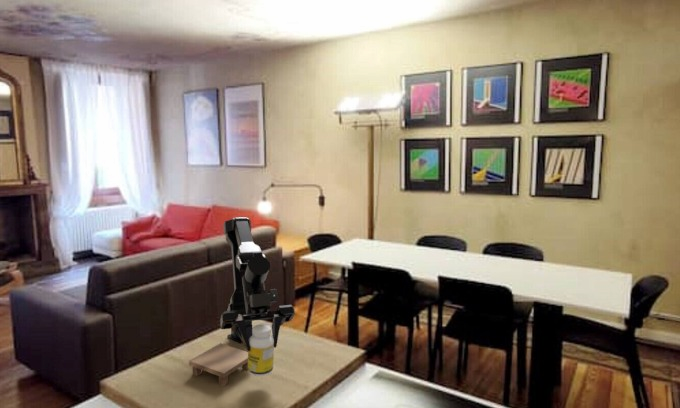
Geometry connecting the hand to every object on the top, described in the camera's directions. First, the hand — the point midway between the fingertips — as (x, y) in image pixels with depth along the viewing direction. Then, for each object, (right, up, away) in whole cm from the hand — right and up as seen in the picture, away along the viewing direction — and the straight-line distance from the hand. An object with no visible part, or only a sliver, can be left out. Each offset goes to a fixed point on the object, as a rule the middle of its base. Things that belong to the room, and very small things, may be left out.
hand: (262, 348), depth 113 cm
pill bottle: (-1, -6, +2) cm, 7 cm away
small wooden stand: (-13, -9, +9) cm, 18 cm away
